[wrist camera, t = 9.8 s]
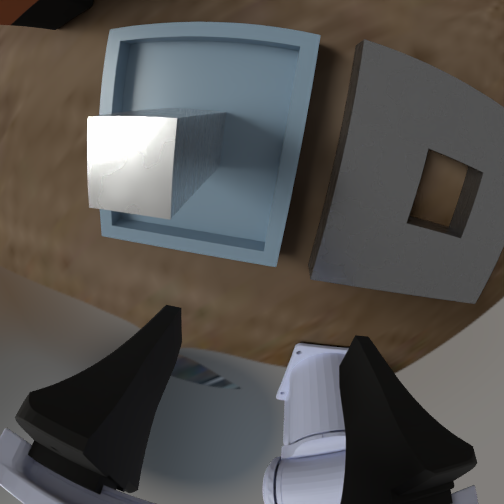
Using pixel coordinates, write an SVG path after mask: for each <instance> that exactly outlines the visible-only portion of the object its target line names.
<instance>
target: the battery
mask: <svg viewBox="0 0 504 504" xmlns="http://www.w3.org/2000/svg"><path fill="white" fill-rule="evenodd" d="M92 4H93V0H0V25H15V26H27V27H36V28H44V29H52V30H56V29H58V28H59V27H61V26H62V25H64V24H65V23H66V22H68V21H69V20H71V19H72V18H74V17H75V16H77V15H79V14H80V13H82V12H83V11H85V10H87V9H88V8H90V7H91V6H92Z"/></svg>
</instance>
